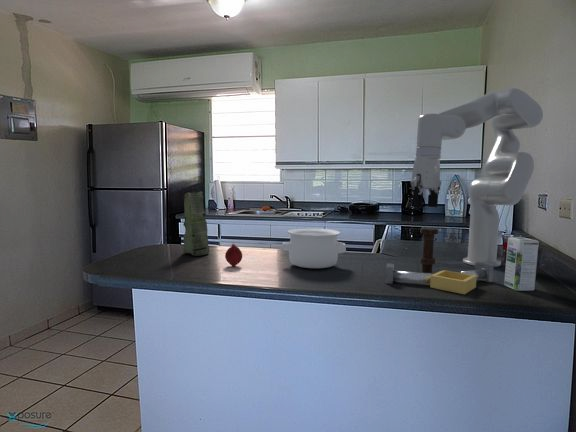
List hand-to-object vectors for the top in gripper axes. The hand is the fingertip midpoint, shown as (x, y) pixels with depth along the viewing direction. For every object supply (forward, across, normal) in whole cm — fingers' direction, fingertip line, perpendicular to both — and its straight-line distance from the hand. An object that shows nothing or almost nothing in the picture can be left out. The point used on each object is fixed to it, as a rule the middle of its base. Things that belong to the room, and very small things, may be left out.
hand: (424, 207), depth 128 cm
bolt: (+22, -1, +2) cm, 22 cm away
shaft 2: (+22, -2, +16) cm, 27 cm away
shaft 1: (+22, +14, +5) cm, 27 cm away
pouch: (+23, +42, -73) cm, 88 cm away
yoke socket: (+22, +8, +15) cm, 28 cm away
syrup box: (+22, -6, +27) cm, 36 cm away
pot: (+23, +20, -29) cm, 42 cm away
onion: (+23, +42, -46) cm, 67 cm away
